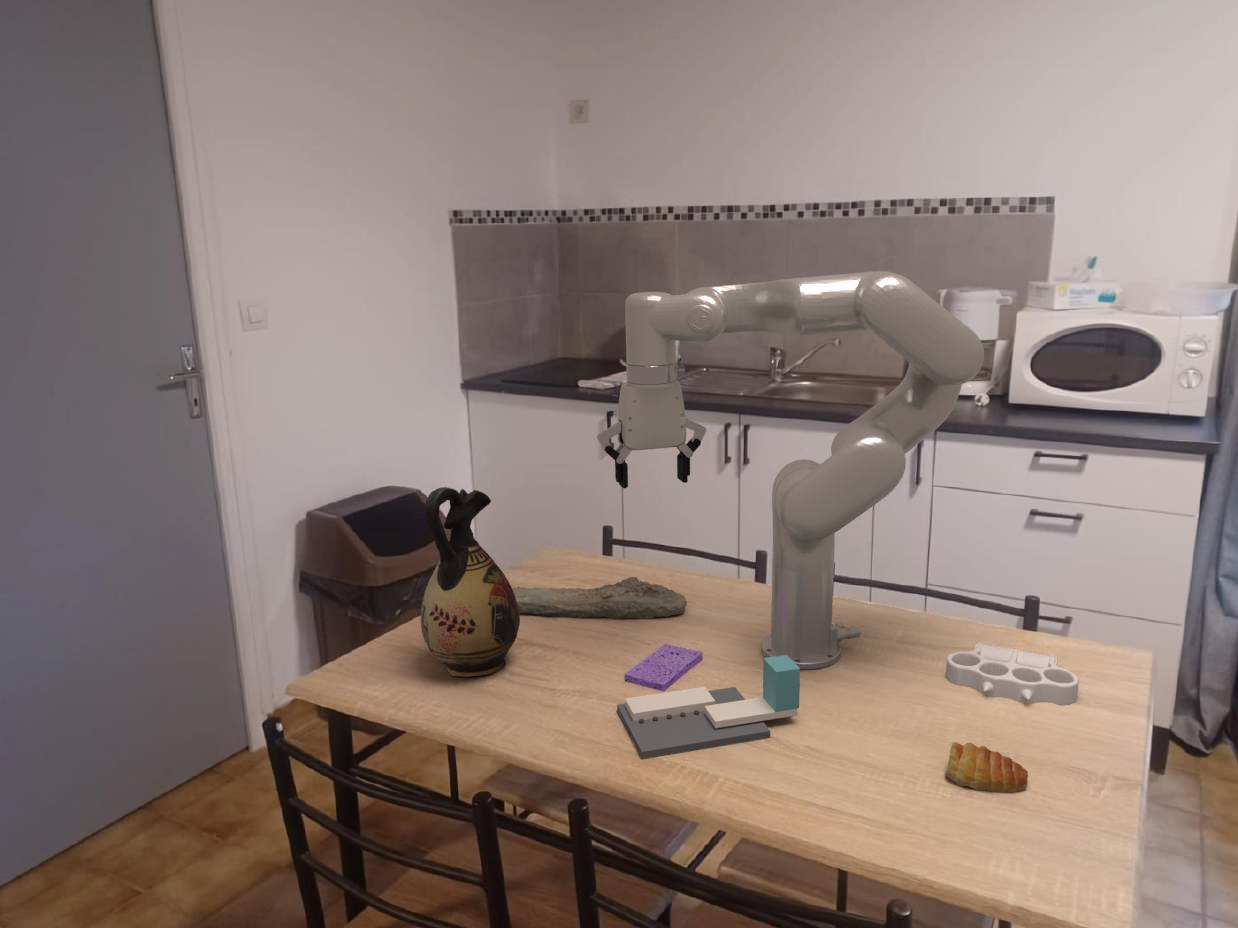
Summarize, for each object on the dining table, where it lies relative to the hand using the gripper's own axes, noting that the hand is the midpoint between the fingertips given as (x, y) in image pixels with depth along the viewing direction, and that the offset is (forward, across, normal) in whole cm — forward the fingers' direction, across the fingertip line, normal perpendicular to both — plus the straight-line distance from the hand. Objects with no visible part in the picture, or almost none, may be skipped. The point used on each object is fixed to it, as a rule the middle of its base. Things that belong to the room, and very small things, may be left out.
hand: (653, 483), depth 146 cm
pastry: (+29, -28, +46) cm, 61 cm away
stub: (+27, -6, +26) cm, 38 cm away
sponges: (+29, +1, +7) cm, 30 cm away
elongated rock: (+29, +6, -20) cm, 36 cm away
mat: (+28, +2, +24) cm, 37 cm away
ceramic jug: (+28, +30, -3) cm, 41 cm away
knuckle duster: (+29, -48, +26) cm, 61 cm away
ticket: (+27, +4, +21) cm, 35 cm away
